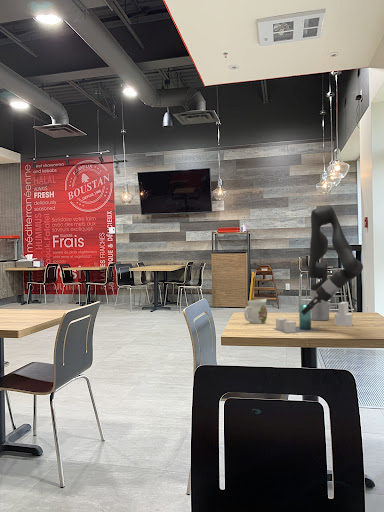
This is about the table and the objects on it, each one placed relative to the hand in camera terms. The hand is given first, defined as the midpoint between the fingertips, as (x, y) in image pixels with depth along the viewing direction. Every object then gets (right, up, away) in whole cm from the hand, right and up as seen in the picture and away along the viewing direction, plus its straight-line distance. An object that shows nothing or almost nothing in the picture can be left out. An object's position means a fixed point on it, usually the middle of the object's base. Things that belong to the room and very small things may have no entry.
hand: (304, 312), depth 212 cm
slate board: (-5, -10, -1) cm, 11 cm away
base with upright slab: (+26, -9, +18) cm, 33 cm away
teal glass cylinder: (0, -8, 0) cm, 8 cm away
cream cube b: (-12, -9, 0) cm, 14 cm away
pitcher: (-21, -10, +20) cm, 31 cm away
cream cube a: (-9, -9, -7) cm, 14 cm away
